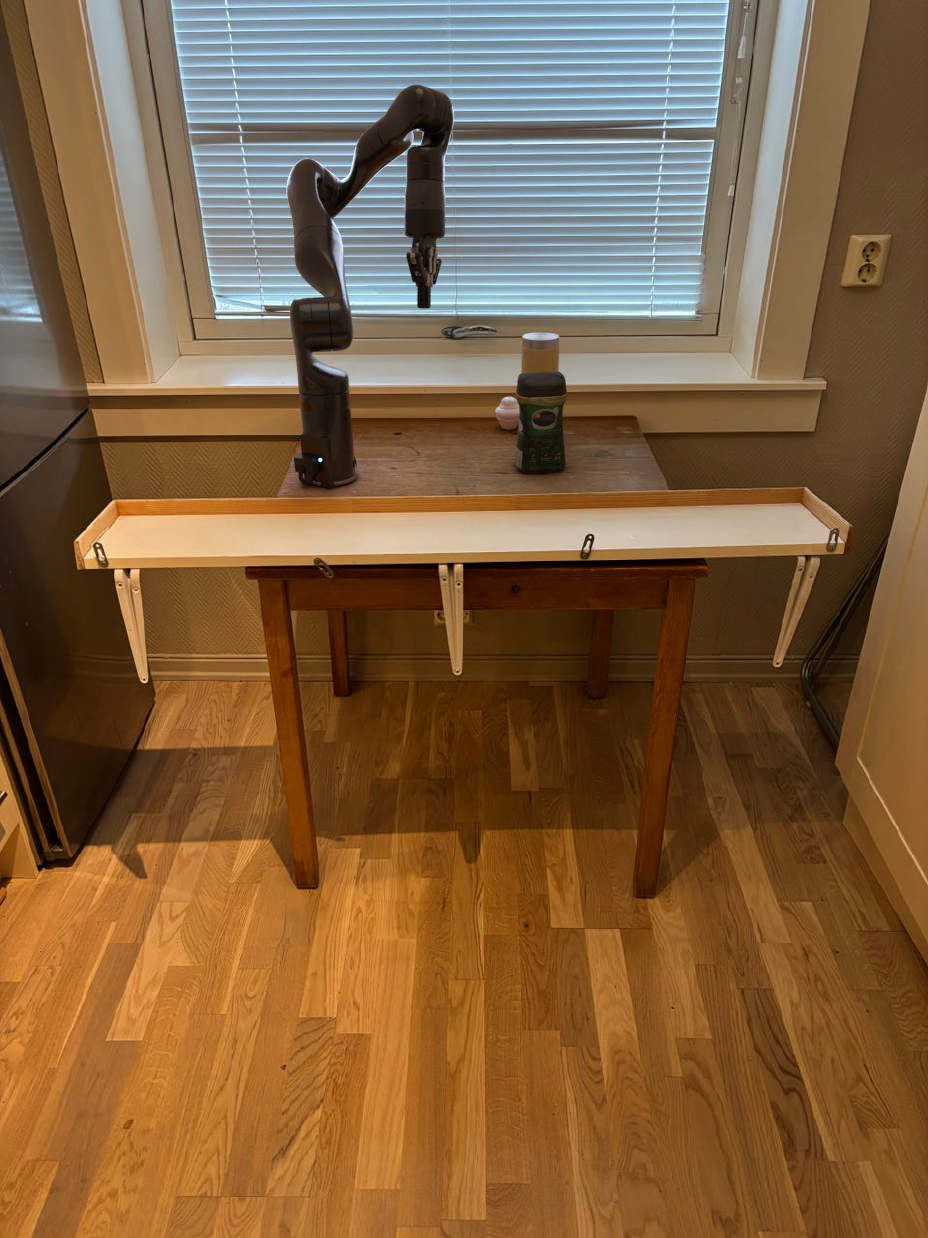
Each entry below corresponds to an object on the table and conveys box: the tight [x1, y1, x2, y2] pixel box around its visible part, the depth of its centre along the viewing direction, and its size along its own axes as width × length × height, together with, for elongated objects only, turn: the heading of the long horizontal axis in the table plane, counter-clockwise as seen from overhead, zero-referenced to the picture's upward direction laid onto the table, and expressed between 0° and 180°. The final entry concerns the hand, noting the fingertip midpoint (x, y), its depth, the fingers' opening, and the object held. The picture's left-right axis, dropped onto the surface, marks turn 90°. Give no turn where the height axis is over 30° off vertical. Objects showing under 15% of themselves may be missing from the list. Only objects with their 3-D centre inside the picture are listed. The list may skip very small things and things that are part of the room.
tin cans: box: [520, 331, 560, 374], centre depth 187 cm, size 8×8×22 cm
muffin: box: [494, 396, 519, 431], centre depth 200 cm, size 6×6×7 cm
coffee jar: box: [515, 371, 568, 474], centre depth 174 cm, size 10×8×19 cm
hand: (423, 308), depth 173 cm, fingers closed
